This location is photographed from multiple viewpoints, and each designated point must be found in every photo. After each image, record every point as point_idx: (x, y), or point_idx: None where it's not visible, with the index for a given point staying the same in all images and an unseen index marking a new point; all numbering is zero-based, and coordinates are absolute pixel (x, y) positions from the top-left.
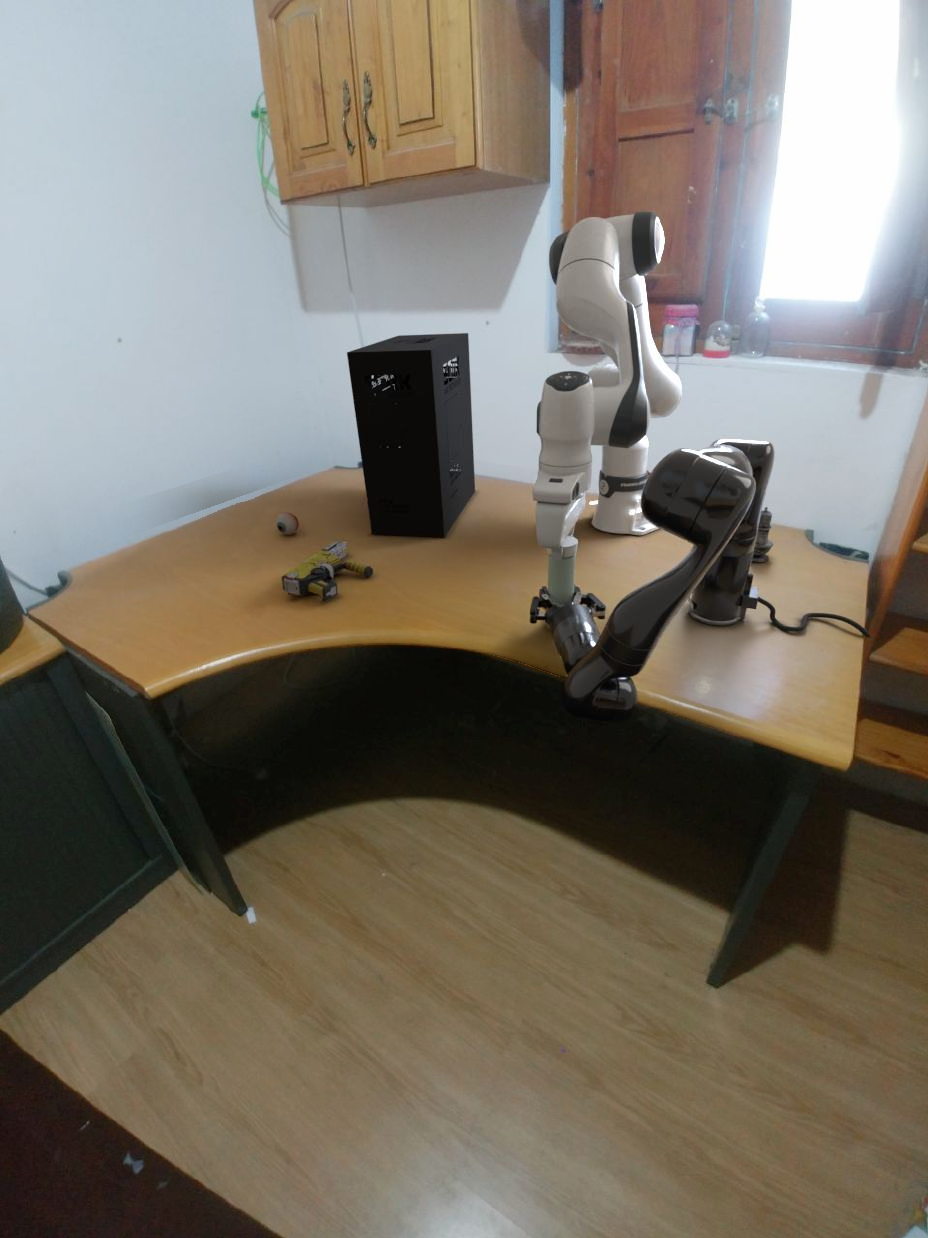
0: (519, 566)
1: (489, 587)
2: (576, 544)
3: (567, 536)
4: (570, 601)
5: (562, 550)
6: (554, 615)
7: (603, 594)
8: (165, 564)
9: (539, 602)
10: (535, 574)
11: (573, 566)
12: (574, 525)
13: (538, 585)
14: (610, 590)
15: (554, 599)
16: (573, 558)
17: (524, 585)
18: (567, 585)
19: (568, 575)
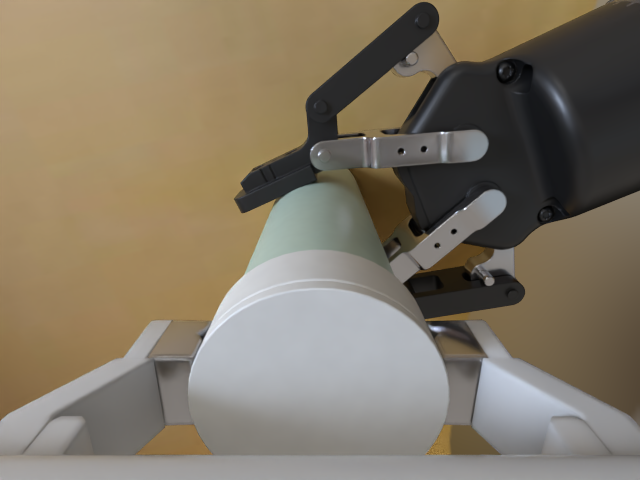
0: (12, 397)
1: (176, 428)
2: (343, 285)
3: (209, 391)
4: (343, 183)
5: (499, 361)
6: (597, 206)
7: (57, 102)
8: None
9: (410, 289)
10: (37, 344)
11: (341, 228)
12: (49, 415)
13: (102, 317)
14: (14, 82)
15: (429, 242)
16: (349, 250)
17: (121, 352)
18: (367, 217)
19: (370, 232)
